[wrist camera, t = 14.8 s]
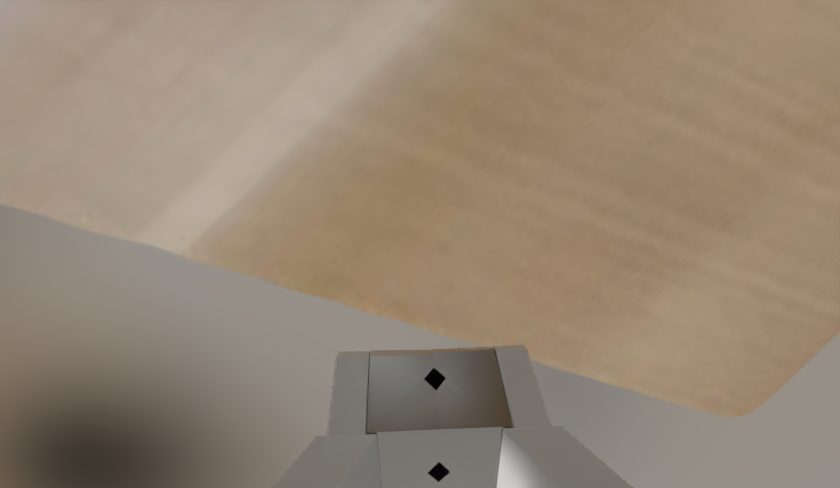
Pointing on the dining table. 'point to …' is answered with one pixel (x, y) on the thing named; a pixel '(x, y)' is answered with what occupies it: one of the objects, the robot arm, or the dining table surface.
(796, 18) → the dining table surface
